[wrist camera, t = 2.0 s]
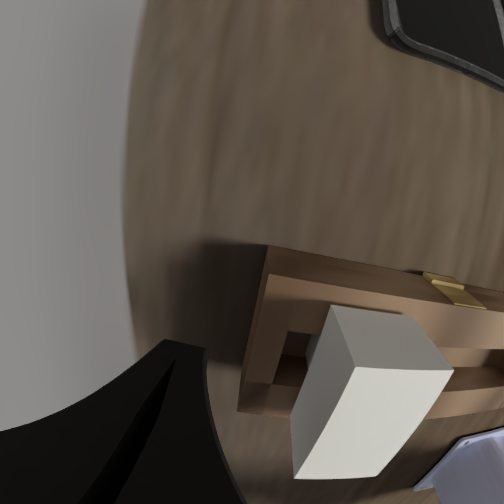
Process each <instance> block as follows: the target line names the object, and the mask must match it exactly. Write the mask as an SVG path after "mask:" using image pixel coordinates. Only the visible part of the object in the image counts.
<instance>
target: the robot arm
mask: <svg viewBox="0 0 504 504" xmlns="http://www.w3.org/2000/svg"><path fill="white" fill-rule="evenodd" d="M208 354H209V352H208V351H207V349H206V348H203V347H198V346H193V345H189V344H184V343H180V342H176V341H172V340H167V339H164V340H162V341H161V342H160V343H159V344H157V345H156V346H155V347H154V348H153V349H152V350H151V351H149V352H148V353H147V354H146V355H145V356H143V357H142V358H141V359H140V360H139V361H137V362H136V363H135V364H134V365H133V366H131V367H130V368H128V369H127V370H126V371H124V372H123V373H122V374H120V375H119V376H118V377H116V378H115V379H114V380H112V381H111V382H109V383H108V384H106V385H105V386H103V387H102V388H100V389H99V390H97V391H96V392H94V393H92V394H91V395H89V396H87V397H86V398H84V399H82V400H80V401H79V402H77V403H75V404H73V405H71V406H69V407H67V408H65V409H63V410H61V411H59V412H56V413H54V414H52V415H49V416H47V417H45V418H42V419H40V420H37V421H34V422H32V423H29V424H25V425H22V426H18V427H15V428H11V429H8V430H4V431H0V504H247V502H246V500H245V498H244V497H243V495H242V493H241V491H240V489H239V487H238V485H237V483H236V481H235V479H234V477H233V475H232V472H231V470H230V468H229V465H228V463H227V461H226V458H225V455H224V452H223V450H222V447H221V444H220V441H219V438H218V435H217V431H216V428H215V424H214V420H213V416H212V411H211V406H210V401H209V394H208V388H207V374H206V369H207V361H208ZM432 487H434V488H435V491H436V494H437V497H438V499H439V502H440V504H504V427H503V428H499V429H496V430H492V431H488V432H484V433H480V434H476V435H472V436H467V437H463V438H461V439H460V440H458V441H457V443H456V444H455V445H454V446H453V447H452V448H451V450H450V451H449V452H448V453H447V454H446V455H445V456H444V457H443V458H442V459H441V461H440V462H439V463H438V464H437V465H436V466H435V467H434V468H433V469H432V470H431V471H430V472H429V473H428V474H427V475H426V476H425V477H424V478H423V479H422V480H421V481H420V482H419V483H418V484H417V485H415V486H414V488H413V489H414V491H419V490H424V489H428V488H432Z"/></svg>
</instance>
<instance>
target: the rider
mask: <svg viewBox="0 0 504 504" xmlns="http://www.w3.org/2000/svg"><path fill="white" fill-rule="evenodd" d="M305 355H306V360H307V366H308V372H307V374H306V377H305V379H304V382H303V385H302V387H301V390H300V392H299V395H298V397H297V400H296V402H295V405H294V407H293V409H292V412H291V414H290V424H291V439H292V455H293V473H294V479H345V478H362V477H374V476H377V475H378V474H379V473H380V472H381V471H382V469H383V468H384V467H385V466H386V465H387V464H388V463H389V462H390V460H391V459H392V458H393V457H394V456H395V454H396V453H397V452H398V451H399V450H400V448H401V447H402V446H403V445H404V444H405V442H406V441H407V440H408V438H409V437H410V436H411V435H412V433H413V432H414V431H415V429H416V428H417V427H418V425H419V424H420V423H421V421H422V420H423V418H424V417H425V416H426V414H427V413H428V411H429V410H430V408H431V407H432V405H433V404H434V402H435V401H436V399H437V398H438V396H439V395H440V393H441V392H442V390H443V388H444V387H445V385H446V384H447V382H448V380H449V379H450V377H451V375H452V373H453V372H454V369H453V368H452V366H451V365H450V364H449V362H448V361H447V360H446V358H445V357H444V356H443V354H442V353H441V352H440V350H439V349H438V348H437V347H436V345H435V344H434V343H433V341H432V340H431V339H430V337H429V336H428V335H427V334H426V332H425V331H424V330H423V329H422V327H421V326H420V325H419V324H418V322H417V321H416V320H415V319H414V317H413V316H406V315H399V314H391V313H384V312H377V311H370V310H363V309H357V308H350V307H343V306H337V305H331V306H330V309H329V312H328V315H327V318H326V321H325V324H324V327H323V330H322V333H321V335H314V334H311V337H310V340H309V343H308V346H307V349H306V352H305Z"/></svg>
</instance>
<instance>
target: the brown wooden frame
mask: <svg viewBox="0 0 504 504" xmlns="http://www.w3.org/2000/svg"><path fill="white" fill-rule="evenodd" d="M331 305H337V306H343V307H350V308H357V309H363V310H370V311H377V312H384V313H391V314H399V315H406V316H413V317H414V319H415V320H416V321H417V322H418V324H419V325H420V326H421V327H422V329H423V330H424V331H425V332H426V334H427V335H428V336H429V337H430V339H431V340H432V341H433V343H434V344H435V345H436V347H437V348H438V349H439V350H440V352H441V353H442V354H443V356H444V357H445V358H446V360H447V361H448V362H449V364H450V365H451V366H452V368H453V369H454V372H453V373H452V375H451V377H450V379H449V380H448V382H447V384H446V385H445V387H444V388H443V390H442V392H441V393H440V395H439V396H438V398H437V399H436V401H435V402H434V404H433V405H432V407H431V408H430V410H429V411H428V413H427V414H426V416H425V417H424V418H423V419H433V418H442V417H450V416H458V415H465V414H471V413H477V412H483V411H488V410H493V409H498V408H503V407H504V293H503V292H498V291H494V290H489V289H484V288H479V287H475V286H470V285H465V284H461V283H460V282H459V281H457V280H456V279H455V278H450V277H446V276H441V275H436V274H432V273H427V272H423V275H417V274H412V273H407V272H402V271H397V270H392V269H387V268H382V267H377V266H372V265H367V264H362V263H357V262H352V261H347V260H342V259H337V258H332V257H326V256H321V255H316V254H311V253H306V252H301V251H296V250H290V249H285V248H280V247H275V246H270V245H268V248H267V253H266V258H265V263H264V268H263V272H262V277H261V282H260V286H259V291H258V296H257V300H256V305H255V310H254V314H253V319H252V324H251V328H250V333H249V337H248V342H247V346H246V351H245V355H244V360H243V364H242V371H241V380H240V389H239V397H238V406H237V411H238V412H244V413H251V414H258V415H265V416H273V417H282V418H290V414H291V412H292V409H293V407H294V405H295V402H296V400H297V397H298V395H299V392H300V390H301V387H302V385H303V382H304V379H305V377H306V374H307V372H308V366H307V360H306V355H305V352H306V349H307V346H308V343H309V340H310V337H311V334H314V335H321V333H322V330H323V327H324V324H325V321H326V318H327V315H328V312H329V309H330V306H331Z"/></svg>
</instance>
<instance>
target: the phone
mask: <svg viewBox="0 0 504 504" xmlns="http://www.w3.org/2000/svg"><path fill="white" fill-rule="evenodd" d="M382 6H383V17H384V27H385V31H386V34H387V36H388V37H389V39H390V41H391V42H392V43H393V44H394V45H395V46H396V47H397V48H398V49H400V50H401V51H402V52H404V53H407V54H409V55H411V56H415V57H418V58H421V59H424V60H427V61H430V62H432V63H435V64H438V65H441V66H443V67H446V68H449V69H451V70H454V71H456V72H459V73H461V74H463V75H466V76H468V77H470V78H473V79H475V80H477V81H479V82H481V83H484V84H486V85H488V86H490V87H492V88H494V89H496V90H498V91H500V92H503V93H504V0H382ZM424 57H427V58H424ZM453 66H454V67H453ZM455 67H456V68H455ZM458 68H459V69H458ZM460 69H461V70H460ZM462 70H464V71H462ZM465 71H466V72H465Z"/></svg>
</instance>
